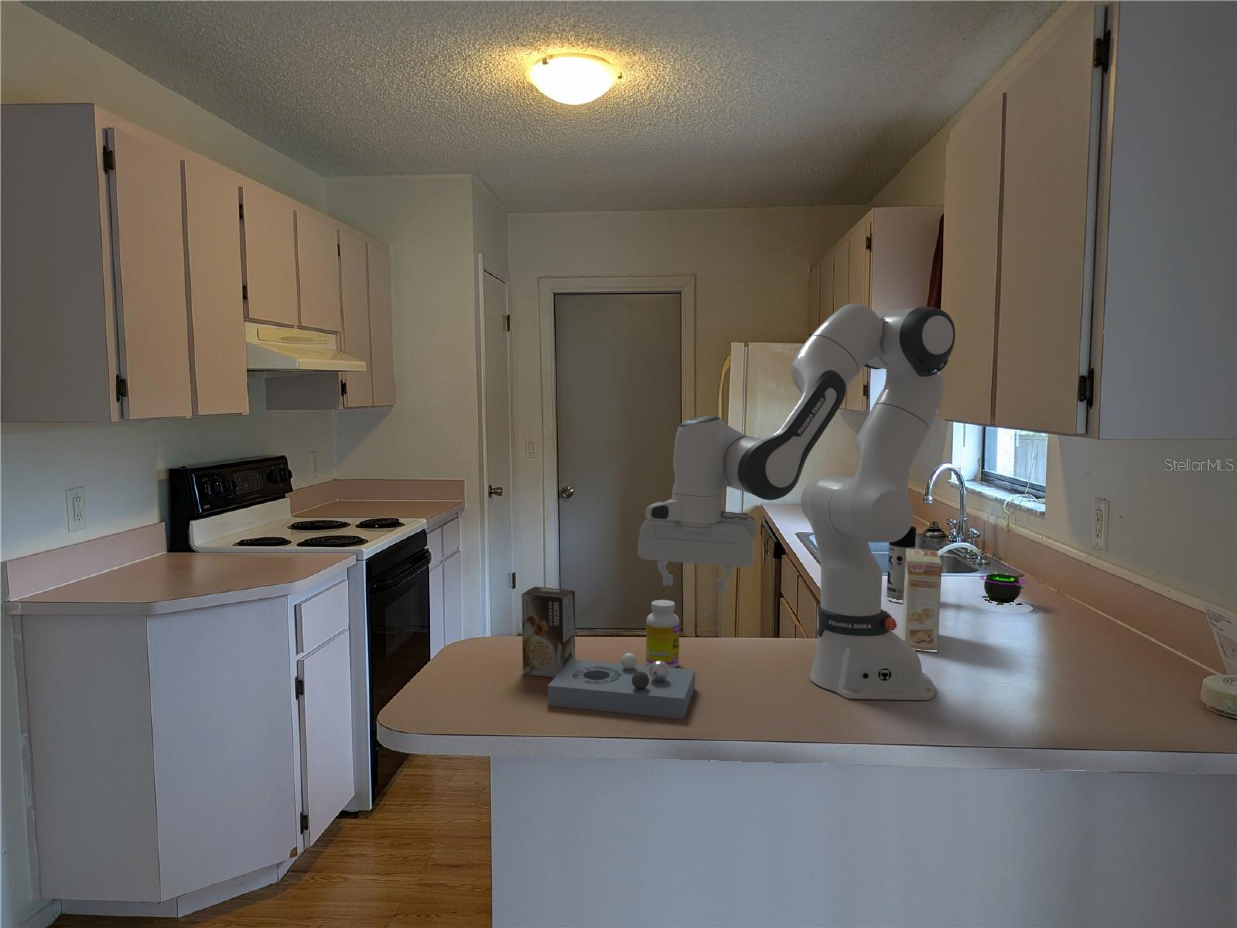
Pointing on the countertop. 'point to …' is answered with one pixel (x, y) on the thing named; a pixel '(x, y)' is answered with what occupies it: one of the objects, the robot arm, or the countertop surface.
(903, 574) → the spray can
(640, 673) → the black ball
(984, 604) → the countertop surface
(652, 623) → the supplement bottle
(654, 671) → the steel ball
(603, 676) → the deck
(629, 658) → the cream ball
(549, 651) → the coffee box
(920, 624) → the coffeecake box
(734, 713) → the countertop surface
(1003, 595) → the toy cauldron
